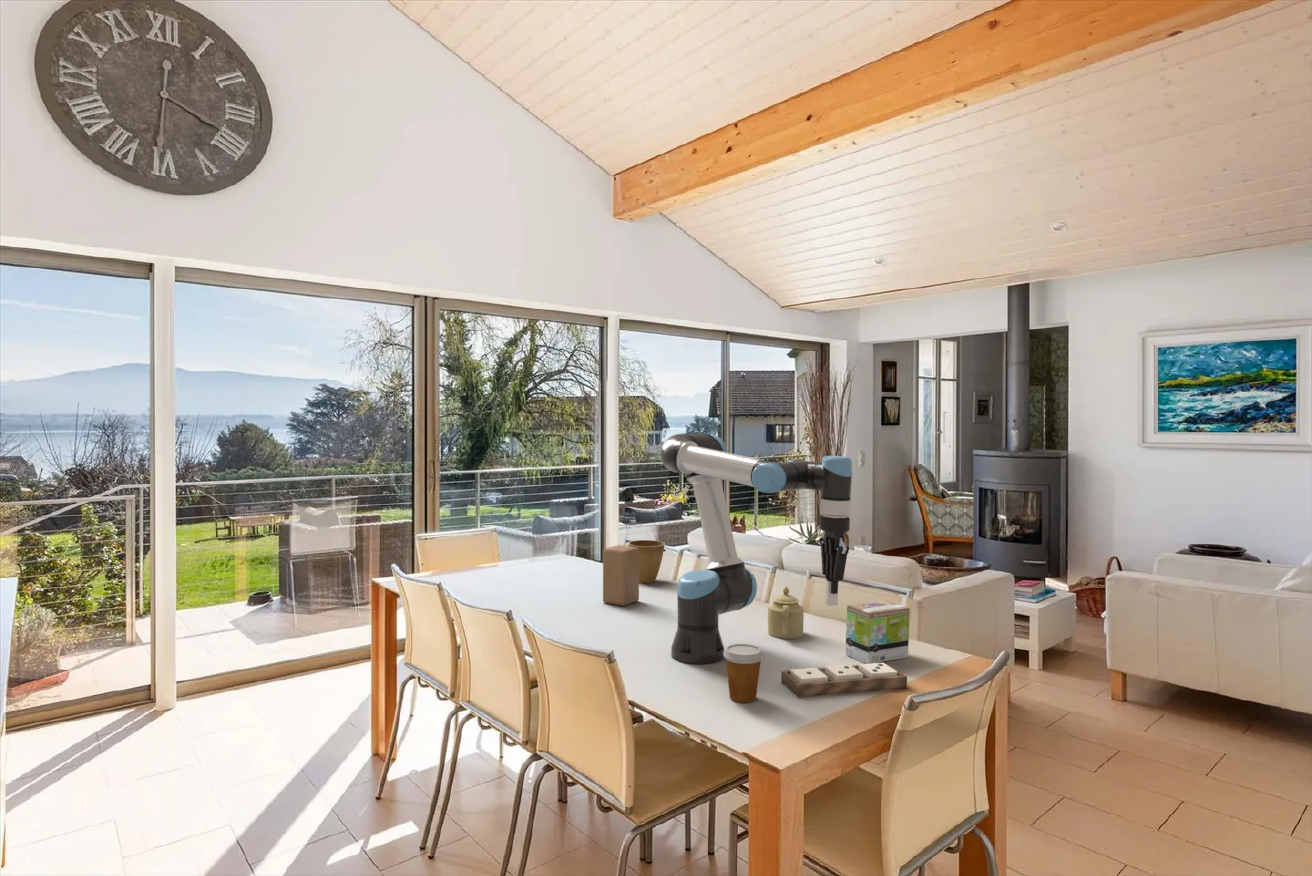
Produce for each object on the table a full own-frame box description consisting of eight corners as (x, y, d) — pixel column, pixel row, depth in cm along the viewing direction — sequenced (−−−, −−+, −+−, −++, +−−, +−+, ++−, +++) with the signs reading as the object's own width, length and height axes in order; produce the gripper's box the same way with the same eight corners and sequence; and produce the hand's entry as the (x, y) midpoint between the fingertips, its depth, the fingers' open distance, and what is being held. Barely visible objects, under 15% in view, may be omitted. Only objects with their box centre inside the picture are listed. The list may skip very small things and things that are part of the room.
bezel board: (797, 697, 181) (797, 685, 181) (781, 682, 191) (781, 670, 191) (906, 688, 188) (907, 676, 187) (885, 674, 198) (885, 663, 198)
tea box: (869, 666, 204) (870, 612, 204) (844, 655, 213) (845, 604, 213) (909, 658, 211) (910, 606, 211) (883, 648, 220) (884, 598, 220)
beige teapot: (816, 641, 227) (816, 592, 226) (783, 644, 223) (783, 594, 223) (793, 627, 241) (793, 581, 240) (761, 630, 238) (762, 583, 237)
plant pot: (624, 584, 300) (625, 545, 299) (632, 577, 315) (632, 539, 314) (661, 586, 297) (661, 546, 297) (666, 578, 312) (667, 540, 312)
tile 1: (801, 692, 183) (801, 678, 183) (790, 682, 190) (790, 668, 190) (827, 689, 185) (827, 676, 185) (815, 680, 192) (815, 666, 191)
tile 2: (837, 688, 185) (837, 675, 185) (824, 678, 192) (824, 665, 192) (862, 686, 187) (862, 673, 187) (849, 676, 194) (849, 663, 194)
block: (639, 601, 274) (640, 547, 273) (624, 607, 265) (624, 551, 265) (617, 597, 279) (618, 544, 278) (601, 603, 271) (602, 548, 270)
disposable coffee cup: (766, 705, 176) (767, 655, 176) (726, 706, 175) (727, 655, 175) (757, 690, 186) (758, 642, 185) (720, 691, 185) (720, 643, 184)
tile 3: (871, 686, 187) (872, 672, 187) (858, 676, 194) (858, 663, 194) (897, 684, 189) (897, 671, 189) (882, 674, 196) (883, 662, 196)
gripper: (860, 519, 188) (856, 611, 189) (837, 511, 201) (833, 597, 202) (832, 519, 187) (828, 612, 188) (811, 511, 199) (808, 598, 201)
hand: (831, 604), depth 195 cm, fingers closed
